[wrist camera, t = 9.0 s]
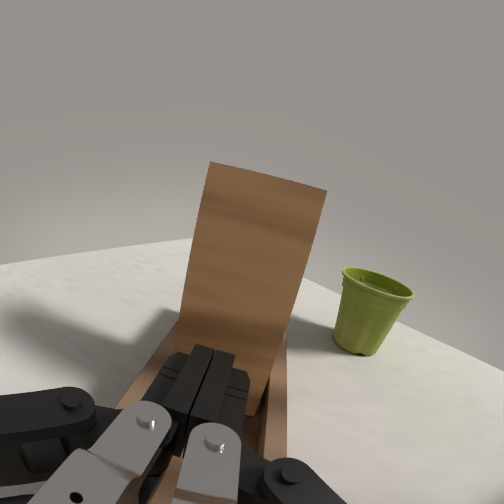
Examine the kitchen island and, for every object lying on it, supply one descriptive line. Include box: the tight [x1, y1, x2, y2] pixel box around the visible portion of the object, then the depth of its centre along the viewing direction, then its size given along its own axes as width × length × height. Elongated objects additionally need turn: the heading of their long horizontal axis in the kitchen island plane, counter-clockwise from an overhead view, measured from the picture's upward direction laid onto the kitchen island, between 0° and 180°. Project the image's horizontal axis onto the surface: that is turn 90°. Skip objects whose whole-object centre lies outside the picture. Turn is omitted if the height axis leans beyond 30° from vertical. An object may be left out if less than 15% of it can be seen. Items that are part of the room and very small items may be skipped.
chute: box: [81, 320, 287, 504], centre depth 17 cm, size 30×10×4 cm, turn 174°
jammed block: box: [174, 162, 327, 417], centre depth 19 cm, size 6×6×15 cm
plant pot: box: [333, 267, 415, 356], centre depth 33 cm, size 9×9×9 cm
